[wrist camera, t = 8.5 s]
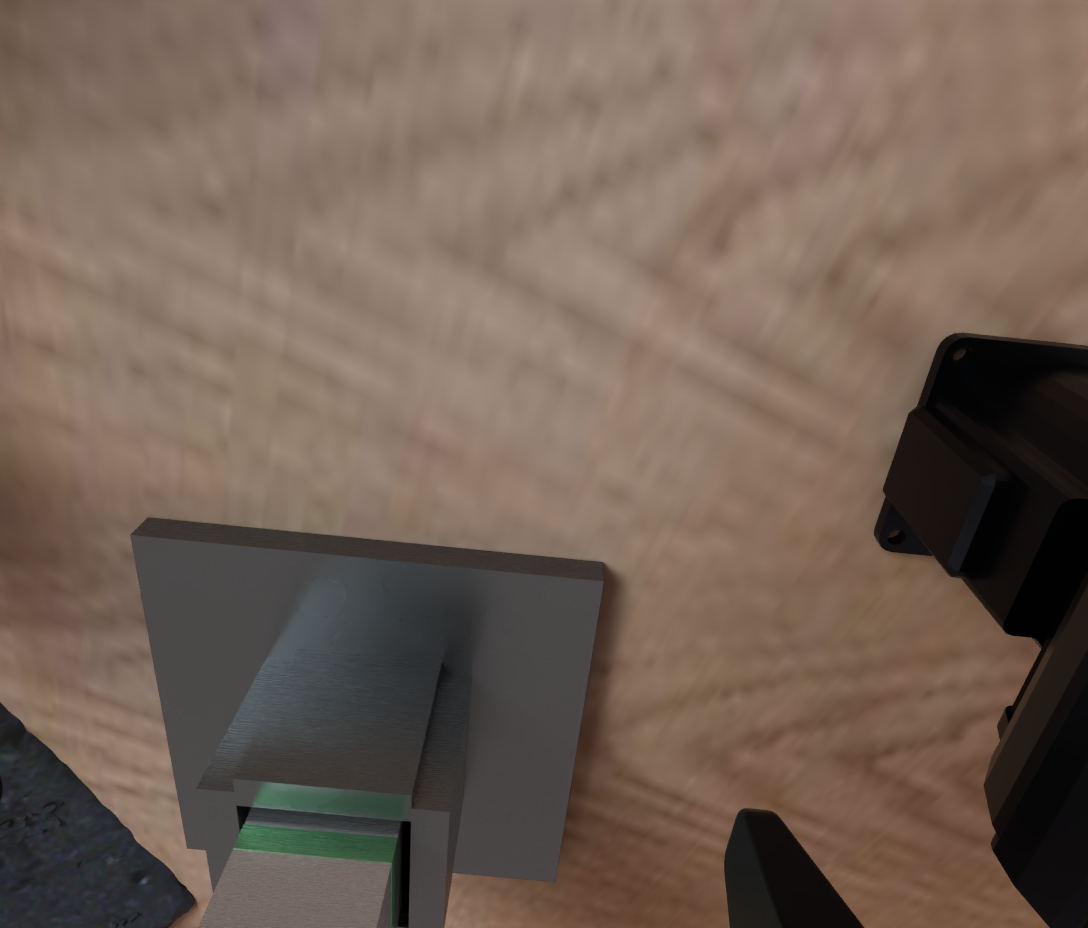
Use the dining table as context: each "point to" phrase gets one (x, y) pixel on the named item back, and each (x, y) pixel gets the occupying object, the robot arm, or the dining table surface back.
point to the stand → (372, 692)
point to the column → (310, 873)
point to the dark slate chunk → (71, 850)
